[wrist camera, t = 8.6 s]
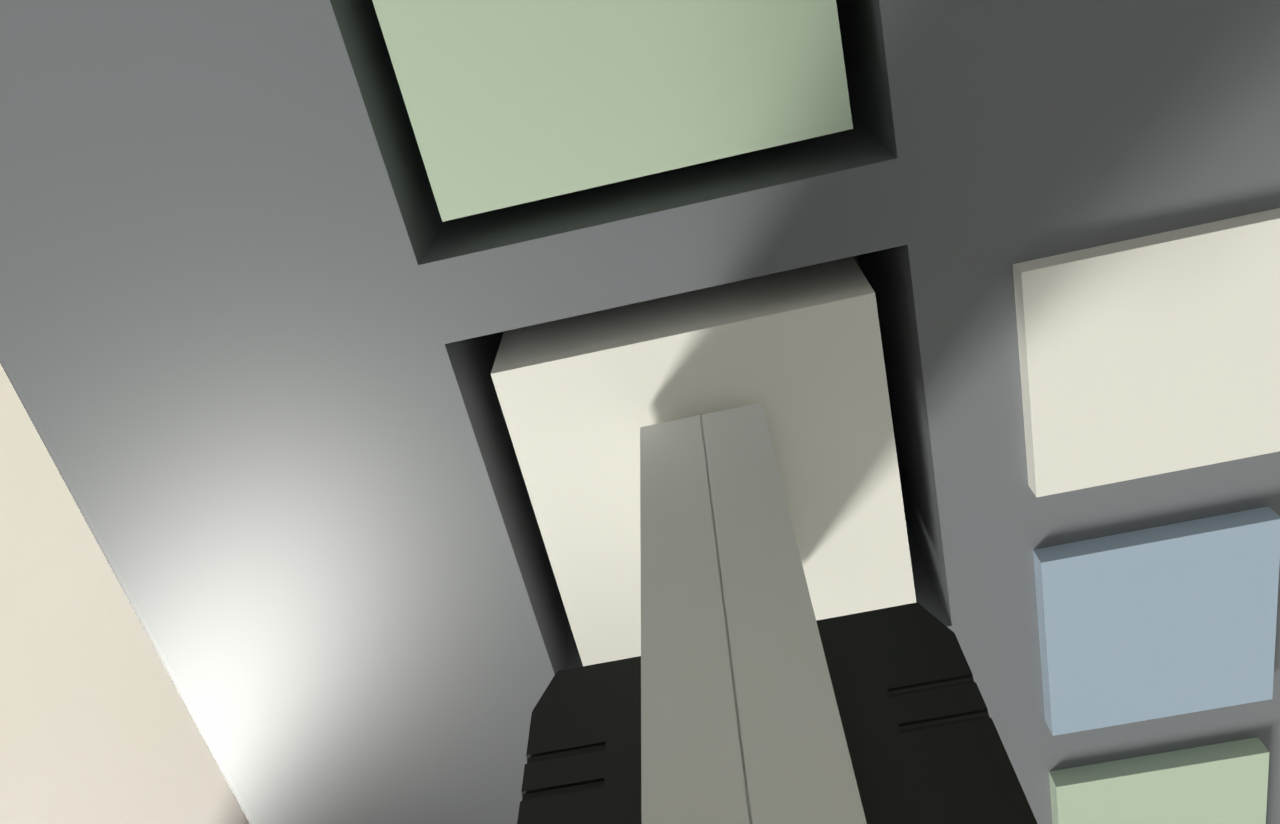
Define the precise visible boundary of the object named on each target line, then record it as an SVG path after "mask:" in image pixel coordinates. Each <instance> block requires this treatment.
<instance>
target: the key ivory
mask: <svg viewBox="0 0 1280 824" xmlns="http://www.w3.org/2000/svg"><path fill="white" fill-rule="evenodd" d="M491 377H492V380H493V383H494V386H495V390H496V393H497V396H498V399H499V402H500V405H501V409H502V412H503V415H504V418H505V421H506V424H507V428H508V431H509V434H510V437H511V440H512V443H513V446H514V450H515V453H516V456H517V459H518V462H519V465H520V469H521V472H522V475H523V478H524V481H525V484H526V488H527V491H528V494H529V497H530V500H531V503H532V506H533V510H534V513H535V516H536V519H537V522H538V525H539V529H540V532H541V535H542V538H543V541H544V544H545V548H546V551H547V554H548V557H549V560H550V563H551V566H552V570H553V573H554V576H555V579H556V582H557V585H558V589H559V592H560V595H561V598H562V601H563V604H564V607H565V611H566V614H567V617H568V620H569V623H570V626H571V630H572V633H573V636H574V639H575V642H576V645H577V649H578V652H579V655H580V658H581V661H582V664H583V666H588V665H594V664H599V663H605V662H610V661H616V660H621V659H627V658H633V657H638V656H641V536H640V427H644V426H649V425H654V424H659V423H664V422H669V421H674V420H678V419H683V418H688V417H693V416H698V415H703V414H708V413H713V412H718V411H723V410H728V409H733V408H738V407H743V406H748V405H752V404H757V403H762V405H763V409H764V413H765V417H766V421H767V425H768V429H769V433H770V437H771V441H772V445H773V449H774V453H775V457H776V461H777V465H778V469H779V473H780V478H781V482H782V486H783V490H784V494H785V498H786V502H787V506H788V510H789V514H790V518H791V522H792V526H793V530H794V534H795V538H796V542H797V546H798V550H799V554H800V558H801V562H802V566H803V570H804V574H805V578H806V582H807V586H808V590H809V594H810V598H811V602H812V606H813V610H814V614H815V618H816V621H817V620H823V619H828V618H834V617H839V616H845V615H850V614H856V613H861V612H867V611H872V610H878V609H883V608H889V607H894V606H900V605H905V604H911V603H916V595H915V588H914V580H913V573H912V565H911V558H910V550H909V543H908V535H907V528H906V520H905V513H904V505H903V498H902V490H901V483H900V475H899V468H898V461H897V453H896V446H895V438H894V431H893V423H892V416H891V408H890V401H889V393H888V386H887V378H886V371H885V363H884V356H883V348H882V341H881V333H880V326H879V318H878V311H877V303H876V296H875V292H874V290H873V289H872V287H871V285H870V284H869V282H868V280H867V279H866V277H865V276H864V274H863V272H862V271H861V269H860V268H859V266H858V264H857V263H856V261H855V259H854V258H853V256H852V257H848V258H843V259H838V260H834V261H829V262H824V263H820V264H815V265H810V266H806V267H801V268H797V269H792V270H787V271H783V272H778V273H773V274H769V275H764V276H759V277H755V278H750V279H745V280H741V281H736V282H731V283H727V284H722V285H717V286H713V287H708V288H703V289H699V290H694V291H690V292H685V293H680V294H676V295H671V296H666V297H662V298H657V299H652V300H648V301H643V302H638V303H634V304H629V305H624V306H620V307H615V308H610V309H606V310H601V311H596V312H592V313H587V314H583V315H578V316H573V317H569V318H564V319H559V320H555V321H550V322H545V323H541V324H536V325H531V326H527V327H522V328H517V329H513V330H508V331H504V333H503V336H502V339H501V342H500V345H499V349H498V352H497V355H496V358H495V361H494V365H493V368H492V371H491Z"/></svg>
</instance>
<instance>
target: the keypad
mask: <svg viewBox="0 0 1280 824" xmlns="http://www.w3.org/2000/svg"><path fill="white" fill-rule="evenodd" d="M836 4H837V11H838V19H839V26H840V34H841V41H842V49H843V56H844V64H845V71H846V79H847V86H848V94H849V101H850V109H851V116H852V124H853V129H850V130H845V131H841V132H837V133H832V134H828V135H823V136H819V137H815V138H810V139H806V140H801V141H797V142H792V143H788V144H784V145H779V146H775V147H770V148H766V149H762V150H757V151H753V152H748V153H744V154H740V155H735V156H731V157H726V158H722V159H717V160H713V161H709V162H704V163H700V164H695V165H691V166H687V167H682V168H678V169H673V170H669V171H665V172H660V173H656V174H651V175H647V176H642V177H638V178H634V179H629V180H625V181H620V182H616V183H612V184H607V185H603V186H598V187H594V188H590V189H585V190H581V191H576V192H572V193H567V194H563V195H559V196H554V197H550V198H545V199H541V200H537V201H532V202H528V203H523V204H519V205H514V206H510V207H506V208H501V209H497V210H492V211H488V212H484V213H479V214H475V215H470V216H466V217H462V218H457V219H453V220H448V221H444V222H442V219H441V216H440V213H439V210H438V207H437V203H436V200H435V197H434V194H433V191H432V188H431V184H430V181H429V178H428V175H427V172H426V169H425V165H424V162H423V159H422V156H421V153H420V150H419V147H418V143H417V140H416V137H415V134H414V131H413V128H412V124H411V121H410V118H409V115H408V112H407V109H406V105H405V102H404V99H403V96H402V93H401V90H400V87H399V83H398V80H397V77H396V74H395V71H394V68H393V64H392V61H391V58H390V55H389V52H388V49H387V46H386V42H385V39H384V36H383V33H382V30H381V27H380V23H379V20H378V17H377V14H376V11H375V8H374V4H373V1H372V0H0V363H1V365H2V367H3V369H4V371H5V373H6V374H7V376H8V378H9V380H10V382H11V384H12V385H13V387H14V389H15V391H16V393H17V395H18V397H19V398H20V400H21V402H22V404H23V406H24V408H25V409H26V411H27V413H28V415H29V417H30V419H31V421H32V422H33V424H34V426H35V428H36V430H37V432H38V434H39V435H40V437H41V439H42V441H43V443H44V445H45V446H46V448H47V450H48V452H49V454H50V456H51V458H52V459H53V461H54V463H55V465H56V467H57V469H58V470H59V472H60V474H61V476H62V478H63V480H64V482H65V483H66V485H67V487H68V489H69V491H70V493H71V495H72V496H73V498H74V500H75V502H76V504H77V506H78V507H79V509H80V511H81V513H82V515H83V517H84V519H85V520H86V522H87V524H88V526H89V528H90V530H91V531H92V533H93V535H94V537H95V539H96V541H97V543H98V544H99V546H100V548H101V550H102V552H103V554H104V556H105V557H106V559H107V561H108V563H109V565H110V567H111V568H112V570H113V572H114V574H115V576H116V578H117V580H118V581H119V583H120V585H121V587H122V589H123V591H124V592H125V594H126V596H127V598H128V600H129V602H130V604H131V605H132V607H133V609H134V611H135V613H136V615H137V616H138V618H139V620H140V622H141V624H142V626H143V628H144V629H145V631H146V633H147V635H148V637H149V639H150V641H151V642H152V644H153V646H154V648H155V650H156V652H157V653H158V655H159V657H160V659H161V661H162V663H163V665H164V666H165V668H166V670H167V672H168V674H169V676H170V677H171V679H172V681H173V683H174V685H175V687H176V689H177V690H178V692H179V694H180V696H181V698H182V700H183V702H184V703H185V705H186V707H187V709H188V711H189V713H190V714H191V716H192V718H193V720H194V722H195V724H196V726H197V727H198V729H199V731H200V733H201V735H202V737H203V738H204V740H205V742H206V744H207V746H208V748H209V750H210V751H211V753H212V755H213V757H214V759H215V761H216V762H217V764H218V766H219V768H220V770H221V772H222V774H223V775H224V777H225V779H226V781H227V783H228V785H229V787H230V788H231V790H232V792H233V794H234V796H235V798H236V799H237V801H238V803H239V805H240V807H241V809H242V811H243V812H244V814H245V816H246V818H247V820H248V822H249V823H250V824H517V820H518V813H519V805H520V801H522V793H521V790H522V782H523V775H524V767H525V764H527V757H526V752H527V745H528V737H529V730H530V722H531V714H532V711H533V709H534V708H535V706H536V704H537V703H538V701H539V700H540V698H541V696H542V695H543V693H544V692H545V690H546V688H547V687H548V685H549V684H550V682H551V680H552V679H553V677H554V676H555V674H556V672H557V671H561V670H566V669H572V668H577V667H583V664H582V661H581V658H580V655H579V652H578V649H577V645H576V642H575V639H574V636H573V633H572V630H571V626H570V623H569V620H568V617H567V614H566V611H565V607H564V604H563V601H562V598H561V595H560V592H559V589H558V585H557V582H556V579H555V576H554V573H553V570H552V566H551V563H550V560H549V557H548V554H547V551H546V548H545V544H544V541H543V538H542V535H541V532H540V529H539V525H538V522H537V519H536V516H535V513H534V510H533V506H532V503H531V500H530V497H529V494H528V491H527V488H526V484H525V481H524V478H523V475H522V472H521V469H520V465H519V462H518V459H517V456H516V453H515V450H514V446H513V443H512V440H511V437H510V434H509V431H508V428H507V424H506V421H505V418H504V415H503V412H502V409H501V405H500V402H499V399H498V396H497V393H496V390H495V386H494V383H493V380H492V377H491V371H492V368H493V365H494V361H495V358H496V355H497V352H498V349H499V345H500V342H501V339H502V336H503V333H504V331H508V330H513V329H517V328H522V327H527V326H531V325H536V324H541V323H545V322H550V321H555V320H559V319H564V318H569V317H573V316H578V315H583V314H587V313H592V312H596V311H601V310H606V309H610V308H615V307H620V306H624V305H629V304H634V303H638V302H643V301H648V300H652V299H657V298H662V297H666V296H671V295H676V294H680V293H685V292H690V291H694V290H699V289H703V288H708V287H713V286H717V285H722V284H727V283H731V282H736V281H741V280H745V279H750V278H755V277H759V276H764V275H769V274H773V273H778V272H783V271H787V270H792V269H797V268H801V267H806V266H810V265H815V264H820V263H824V262H829V261H834V260H838V259H843V258H848V257H852V256H853V258H854V259H855V261H856V263H857V264H858V266H859V268H860V269H861V271H862V272H863V274H864V276H865V277H866V279H867V280H868V282H869V284H870V285H871V287H872V289H873V290H874V292H875V296H876V303H877V311H878V318H879V326H880V333H881V341H882V348H883V356H884V363H885V371H886V378H887V386H888V393H889V401H890V408H891V416H892V423H893V431H894V438H895V446H896V453H897V461H898V468H899V475H900V483H901V490H902V498H903V505H904V513H905V520H906V528H907V535H908V543H909V550H910V558H911V565H912V573H913V580H914V588H915V595H916V602H918V603H919V604H920V605H921V606H922V607H924V608H925V609H926V610H927V611H928V612H930V613H931V614H932V615H933V616H935V617H936V618H937V619H938V620H939V621H941V622H942V623H943V624H944V625H945V626H947V627H948V628H949V629H950V630H951V631H953V632H954V633H955V635H956V638H957V640H958V642H959V644H960V647H961V649H962V651H963V654H964V656H965V658H966V660H967V663H968V665H969V667H970V670H971V672H972V674H973V679H974V682H976V683H977V686H978V688H979V690H980V693H981V695H982V697H983V700H984V702H985V704H986V706H987V709H988V714H989V717H990V718H992V720H993V722H994V725H995V727H996V729H997V732H998V734H999V736H1000V739H1001V741H1002V743H1003V745H1004V748H1005V750H1006V752H1007V755H1008V757H1009V759H1010V762H1011V764H1012V766H1013V768H1014V771H1015V773H1016V775H1017V778H1018V780H1019V782H1020V784H1021V787H1022V789H1023V791H1024V794H1025V796H1026V798H1027V801H1028V803H1029V805H1030V807H1031V810H1032V812H1033V814H1034V817H1035V819H1036V821H1037V824H1280V0H836Z"/></svg>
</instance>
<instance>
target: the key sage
mask: <svg viewBox="0 0 1280 824" xmlns="http://www.w3.org/2000/svg"><path fill="white" fill-rule="evenodd" d="M372 1H373V4H374V8H375V11H376V14H377V17H378V20H379V23H380V27H381V30H382V33H383V36H384V39H385V42H386V46H387V49H388V52H389V55H390V58H391V61H392V64H393V68H394V71H395V74H396V77H397V80H398V83H399V87H400V90H401V93H402V96H403V99H404V102H405V105H406V109H407V112H408V115H409V118H410V121H411V124H412V128H413V131H414V134H415V137H416V140H417V143H418V147H419V150H420V153H421V156H422V159H423V162H424V165H425V169H426V172H427V175H428V178H429V181H430V184H431V188H432V191H433V194H434V197H435V200H436V203H437V207H438V210H439V213H440V216H441V219H442V222H444V221H448V220H453V219H457V218H462V217H466V216H470V215H475V214H479V213H484V212H488V211H492V210H497V209H501V208H506V207H510V206H514V205H519V204H523V203H528V202H532V201H537V200H541V199H545V198H550V197H554V196H559V195H563V194H567V193H572V192H576V191H581V190H585V189H590V188H594V187H598V186H603V185H607V184H612V183H616V182H620V181H625V180H629V179H634V178H638V177H642V176H647V175H651V174H656V173H660V172H665V171H669V170H673V169H678V168H682V167H687V166H691V165H695V164H700V163H704V162H709V161H713V160H717V159H722V158H726V157H731V156H735V155H740V154H744V153H748V152H753V151H757V150H762V149H766V148H770V147H775V146H779V145H784V144H788V143H792V142H797V141H801V140H806V139H810V138H815V137H819V136H823V135H828V134H832V133H837V132H841V131H845V130H850V129H853V124H852V116H851V109H850V101H849V94H848V86H847V79H846V71H845V64H844V56H843V49H842V41H841V34H840V26H839V19H838V11H837V4H836V0H372Z"/></svg>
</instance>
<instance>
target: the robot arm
mask: <svg viewBox="0 0 1280 824" xmlns="http://www.w3.org/2000/svg"><path fill="white" fill-rule="evenodd" d="M640 536H641V656H638V657H633V658H627V659H621V660H616V661H610V662H605V663H599V664H594V665H588V666H583V667H577V668H572V669H566V670H561V671H557V672H556V674H555V676H554V677H553V679H552V680H551V682H550V684H549V685H548V687H547V688H546V690H545V692H544V693H543V695H542V696H541V698H540V700H539V701H538V703H537V704H536V706H535V708H534V709H533V711H532V714H531V722H530V730H529V737H528V745H527V752H526V757H527V764H525V767H524V775H523V782H522V790H521V793H522V801H520V805H519V813H518V820H517V824H1037V821H1036V819H1035V817H1034V814H1033V812H1032V810H1031V807H1030V805H1029V803H1028V801H1027V798H1026V796H1025V794H1024V791H1023V789H1022V787H1021V784H1020V782H1019V780H1018V778H1017V775H1016V773H1015V771H1014V768H1013V766H1012V764H1011V762H1010V759H1009V757H1008V755H1007V752H1006V750H1005V748H1004V745H1003V743H1002V741H1001V739H1000V736H999V734H998V732H997V729H996V727H995V725H994V722H993V720H992V718H990V717H989V714H988V709H987V706H986V704H985V702H984V700H983V697H982V695H981V693H980V690H979V688H978V686H977V683H976V682H974V679H973V674H972V672H971V670H970V667H969V665H968V663H967V660H966V658H965V656H964V654H963V651H962V649H961V647H960V644H959V642H958V640H957V638H956V635H955V633H954V632H953V631H951V630H950V629H949V628H948V627H947V626H945V625H944V624H943V623H942V622H941V621H939V620H938V619H937V618H936V617H935V616H933V615H932V614H931V613H930V612H928V611H927V610H926V609H925V608H924V607H922V606H921V605H920V604H919V603H918V602H916V603H911V604H905V605H900V606H894V607H889V608H883V609H878V610H872V611H867V612H861V613H856V614H850V615H845V616H839V617H834V618H828V619H823V620H817V621H816V618H815V614H814V610H813V606H812V602H811V598H810V594H809V590H808V586H807V582H806V578H805V574H804V570H803V566H802V562H801V558H800V554H799V550H798V546H797V542H796V538H795V534H794V530H793V526H792V522H791V518H790V514H789V510H788V506H787V502H786V498H785V494H784V490H783V486H782V482H781V478H780V473H779V469H778V465H777V461H776V457H775V453H774V449H773V445H772V441H771V437H770V433H769V429H768V425H767V421H766V417H765V413H764V409H763V405H762V403H757V404H752V405H748V406H743V407H738V408H733V409H728V410H723V411H718V412H713V413H708V414H703V415H698V416H693V417H688V418H683V419H678V420H674V421H669V422H664V423H659V424H654V425H649V426H644V427H640Z"/></svg>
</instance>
